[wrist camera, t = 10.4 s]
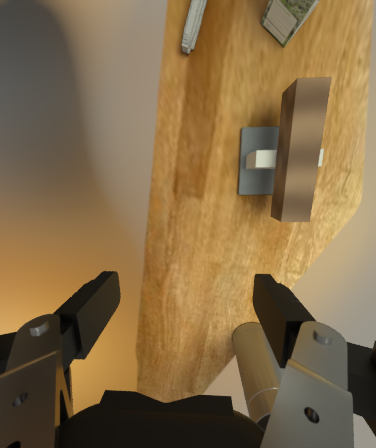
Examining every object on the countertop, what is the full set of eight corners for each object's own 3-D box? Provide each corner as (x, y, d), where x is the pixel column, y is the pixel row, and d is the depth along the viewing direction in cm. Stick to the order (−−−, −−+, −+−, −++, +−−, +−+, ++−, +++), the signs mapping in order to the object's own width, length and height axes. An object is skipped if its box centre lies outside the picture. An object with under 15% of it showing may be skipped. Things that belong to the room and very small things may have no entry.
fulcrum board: (299, 193, 36) (323, 197, 29) (237, 194, 37) (247, 197, 30) (308, 126, 33) (336, 113, 26) (241, 129, 34) (252, 116, 27)
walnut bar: (282, 93, 26) (297, 78, 22) (311, 92, 26) (331, 76, 22) (270, 216, 30) (281, 221, 27) (295, 216, 30) (309, 221, 26)
